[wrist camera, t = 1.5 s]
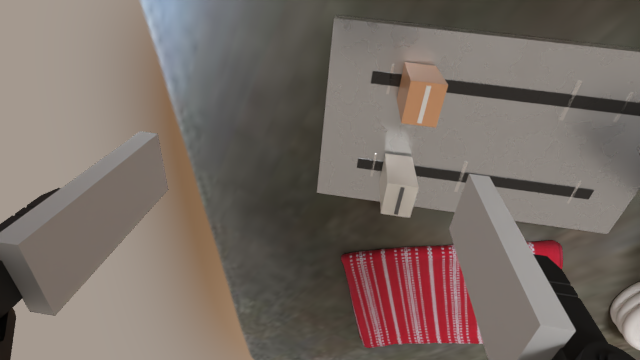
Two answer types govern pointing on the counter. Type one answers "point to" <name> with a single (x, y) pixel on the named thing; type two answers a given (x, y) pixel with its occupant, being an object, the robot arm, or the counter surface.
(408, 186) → the fader cream
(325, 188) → the console
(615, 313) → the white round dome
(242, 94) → the counter surface
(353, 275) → the dish towel
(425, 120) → the fader terracotta
